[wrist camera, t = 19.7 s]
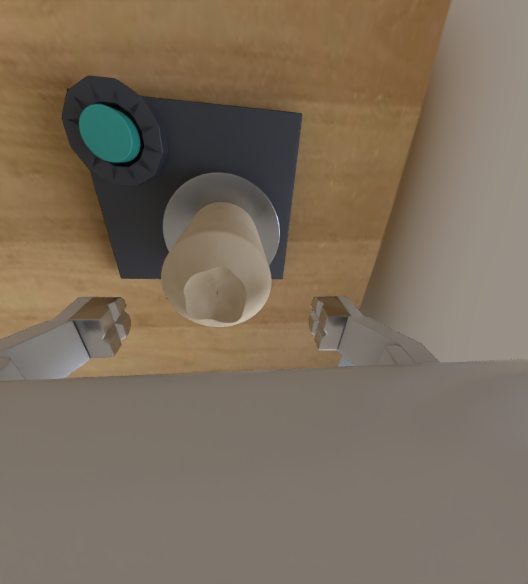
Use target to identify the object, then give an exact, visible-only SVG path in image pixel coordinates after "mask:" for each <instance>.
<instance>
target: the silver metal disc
mask: <svg viewBox="0 0 528 584" xmlns="http://www.w3.org/2000/svg"><path fill="white" fill-rule="evenodd" d="M215 202H227V203H232V204H235V205H237V206H239V207H240V208H242V209H243V210H245V211H246V212H247V213H248V214H249V215H250V217H251V218H252V220H253V222H254V224H255V226H256V229H257V232H258V235H259V238H260V241H261V244H262V247H263V250H264V253H265V256H266V259H267V262H268V265H270V263H271V262H272V260H273V259H274V256H275V254H276V252H277V249H278V245H279V239H280V227H279V221H278V217H277V214H276V211H275V209H274V207H273V205H272V203H271V202H270V200H269V199H268V197H267V196H266V195H265V194H264V193H263V192H262V190H261V189H260V188H258V187H257V186H256V185H255V184H253V183H252V182H250V181H249V180H247V179H245V178H243V177H240V176H238V175H234V174H231V173H224V172H212V173H206V174H202V175H199V176H196V177H194V178H192V179H190V180H188V181H187V182H186V183H184V184H183V185H181V186H180V187H179V188H178V189H177V190H176V191H175V193H174V194H173V195H172V197H171V198H170V200H169V202H168V204H167V207H166V210H165V213H164V218H163V235H164V239H165V243H166V246H167V249H168V251H169V252H170V251H171V249H172V248H173V246H174V245H175V243H176V242H177V240H178V239H179V237H180V236H181V234H182V233H183V232H184V230H185V229H186V227H187V226H188V224H189V223H190V221H191V220H192V218H193V217H194V216H195V214H196V213H197V212H198V211H199V210H200V209H202V208H203V207H205V206H206V205H209V204H211V203H215Z"/></svg>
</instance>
